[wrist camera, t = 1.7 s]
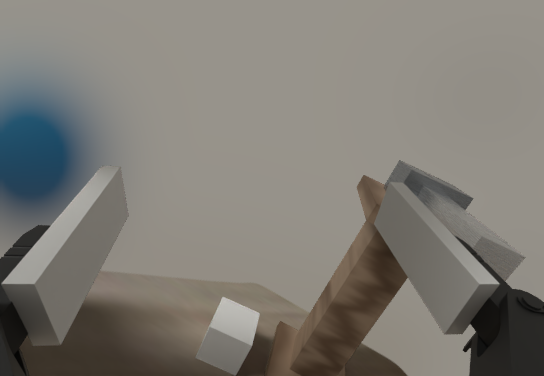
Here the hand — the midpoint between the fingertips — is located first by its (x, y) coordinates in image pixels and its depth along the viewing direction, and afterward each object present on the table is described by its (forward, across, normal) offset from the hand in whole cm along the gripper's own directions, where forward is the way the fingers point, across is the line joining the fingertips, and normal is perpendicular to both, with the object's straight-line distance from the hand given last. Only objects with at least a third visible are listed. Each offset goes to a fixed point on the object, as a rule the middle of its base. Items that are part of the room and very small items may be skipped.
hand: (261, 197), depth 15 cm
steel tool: (+9, +18, -8) cm, 22 cm away
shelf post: (+10, +11, -38) cm, 41 cm away
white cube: (+12, -2, -34) cm, 37 cm away
